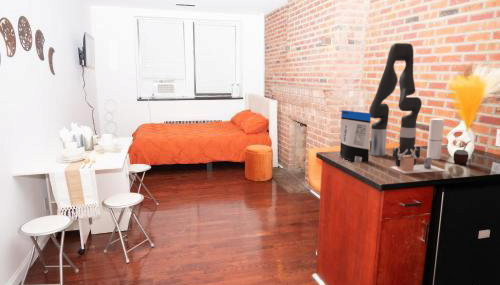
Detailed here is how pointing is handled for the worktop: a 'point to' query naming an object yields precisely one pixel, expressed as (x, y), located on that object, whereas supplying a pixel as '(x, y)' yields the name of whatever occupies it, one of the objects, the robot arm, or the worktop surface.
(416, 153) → the robot arm
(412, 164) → the salmon pink cube
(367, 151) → the protein powder
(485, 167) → the worktop surface
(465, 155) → the mate gourd
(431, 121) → the cylindrical container
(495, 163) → the worktop surface
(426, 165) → the steel post
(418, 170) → the white board
